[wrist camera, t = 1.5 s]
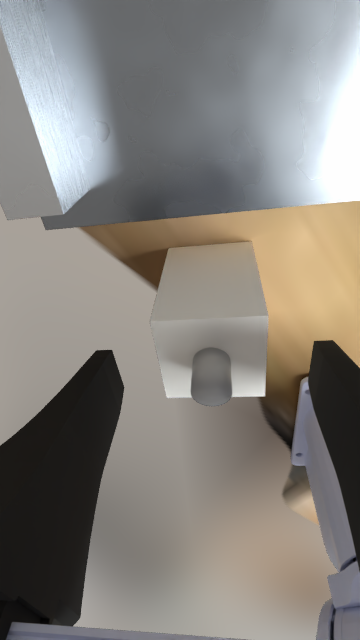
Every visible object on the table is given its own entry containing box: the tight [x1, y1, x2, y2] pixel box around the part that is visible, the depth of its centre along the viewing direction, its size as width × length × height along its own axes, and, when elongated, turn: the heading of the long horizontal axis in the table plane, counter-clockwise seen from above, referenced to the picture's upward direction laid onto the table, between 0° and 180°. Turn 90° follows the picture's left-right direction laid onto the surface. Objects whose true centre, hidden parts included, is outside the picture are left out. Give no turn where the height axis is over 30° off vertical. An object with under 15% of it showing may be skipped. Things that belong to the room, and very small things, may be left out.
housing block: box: [150, 241, 268, 406], centre depth 14 cm, size 4×4×8 cm
